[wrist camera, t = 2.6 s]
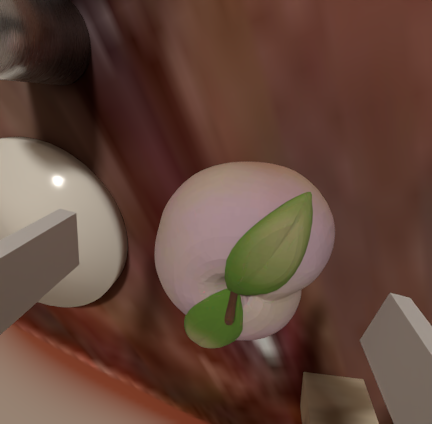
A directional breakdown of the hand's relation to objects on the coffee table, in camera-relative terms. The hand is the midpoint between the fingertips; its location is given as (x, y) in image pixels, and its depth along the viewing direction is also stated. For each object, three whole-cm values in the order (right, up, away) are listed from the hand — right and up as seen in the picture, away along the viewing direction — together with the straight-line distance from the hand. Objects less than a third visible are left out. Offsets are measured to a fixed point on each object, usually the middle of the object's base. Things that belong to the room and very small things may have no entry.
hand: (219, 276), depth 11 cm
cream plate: (-15, +1, +11) cm, 19 cm away
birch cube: (+10, -14, +13) cm, 22 cm away
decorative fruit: (+2, +3, +7) cm, 8 cm away
